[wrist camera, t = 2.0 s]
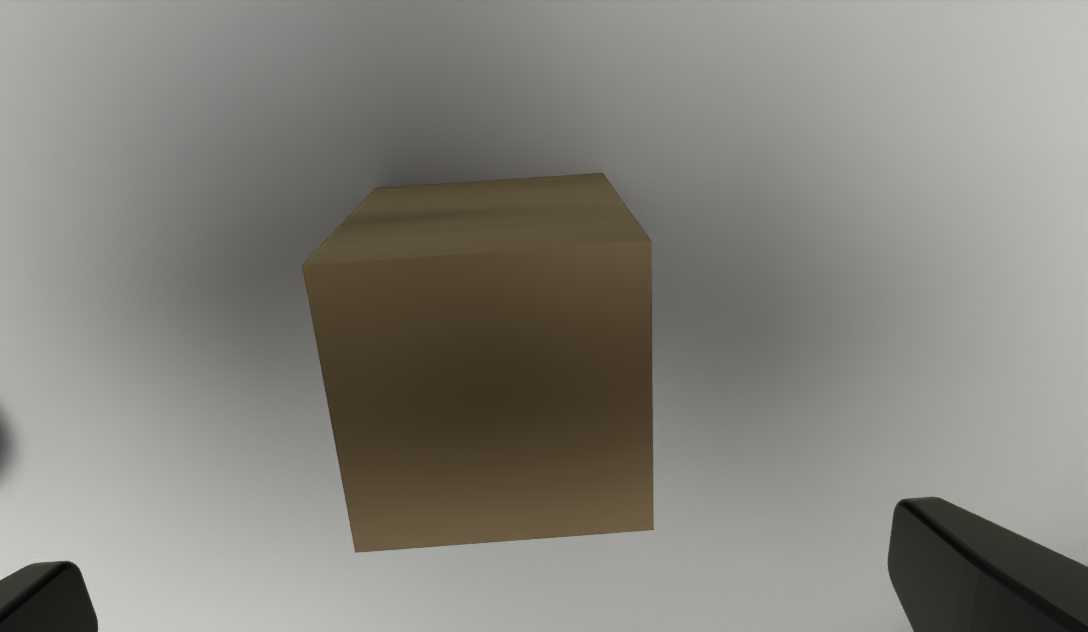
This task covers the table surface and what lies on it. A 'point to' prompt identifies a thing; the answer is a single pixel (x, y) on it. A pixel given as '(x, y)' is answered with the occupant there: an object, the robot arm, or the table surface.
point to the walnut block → (488, 362)
